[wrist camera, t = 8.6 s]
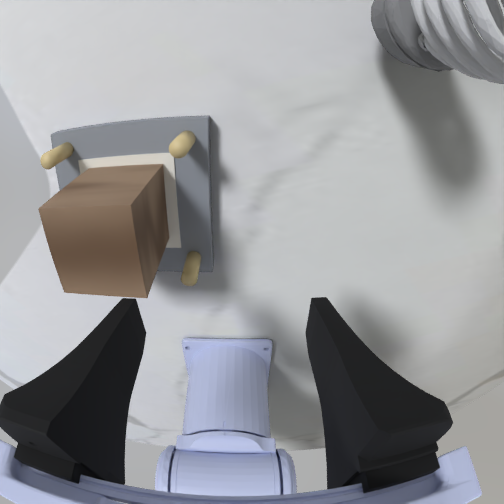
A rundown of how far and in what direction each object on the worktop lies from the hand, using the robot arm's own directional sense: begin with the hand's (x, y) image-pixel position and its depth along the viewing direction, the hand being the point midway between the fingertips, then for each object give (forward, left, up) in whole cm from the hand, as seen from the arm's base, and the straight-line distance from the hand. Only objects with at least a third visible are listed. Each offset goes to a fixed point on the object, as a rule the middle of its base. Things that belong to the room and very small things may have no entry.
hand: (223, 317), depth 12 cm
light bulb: (+13, -10, -10) cm, 19 cm away
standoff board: (+1, +6, -9) cm, 11 cm away
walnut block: (+2, +6, -8) cm, 11 cm away
